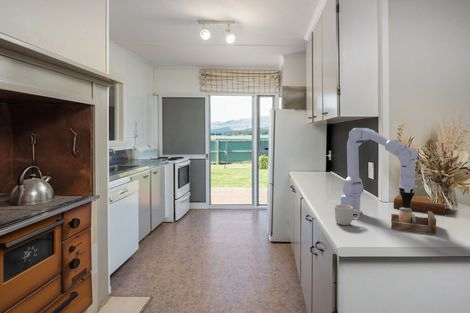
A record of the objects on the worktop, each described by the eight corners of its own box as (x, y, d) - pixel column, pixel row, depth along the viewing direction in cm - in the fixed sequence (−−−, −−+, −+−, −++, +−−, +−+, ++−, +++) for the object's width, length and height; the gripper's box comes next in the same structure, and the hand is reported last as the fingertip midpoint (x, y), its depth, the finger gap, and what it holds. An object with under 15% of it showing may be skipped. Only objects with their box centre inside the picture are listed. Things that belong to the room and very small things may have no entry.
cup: (358, 222, 138) (359, 205, 137) (360, 228, 130) (360, 209, 130) (334, 220, 141) (334, 204, 141) (333, 225, 134) (334, 208, 133)
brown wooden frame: (391, 228, 129) (391, 215, 128) (391, 219, 142) (391, 207, 142) (435, 234, 122) (436, 220, 121) (431, 224, 135) (431, 211, 134)
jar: (398, 226, 132) (399, 209, 131) (398, 223, 136) (399, 206, 136) (411, 228, 130) (412, 210, 129) (411, 225, 134) (411, 208, 133)
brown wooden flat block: (393, 209, 164) (393, 199, 164) (399, 203, 179) (399, 193, 178) (444, 216, 150) (445, 204, 150) (446, 208, 165) (447, 198, 164)
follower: (412, 229, 127) (412, 219, 127) (410, 222, 137) (411, 213, 136) (415, 229, 126) (416, 220, 126) (413, 222, 136) (414, 213, 136)
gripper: (419, 178, 123) (417, 210, 124) (416, 173, 136) (415, 203, 137) (399, 177, 126) (398, 208, 127) (398, 173, 139) (397, 201, 140)
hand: (405, 205), depth 132 cm, fingers open, 7 cm apart
